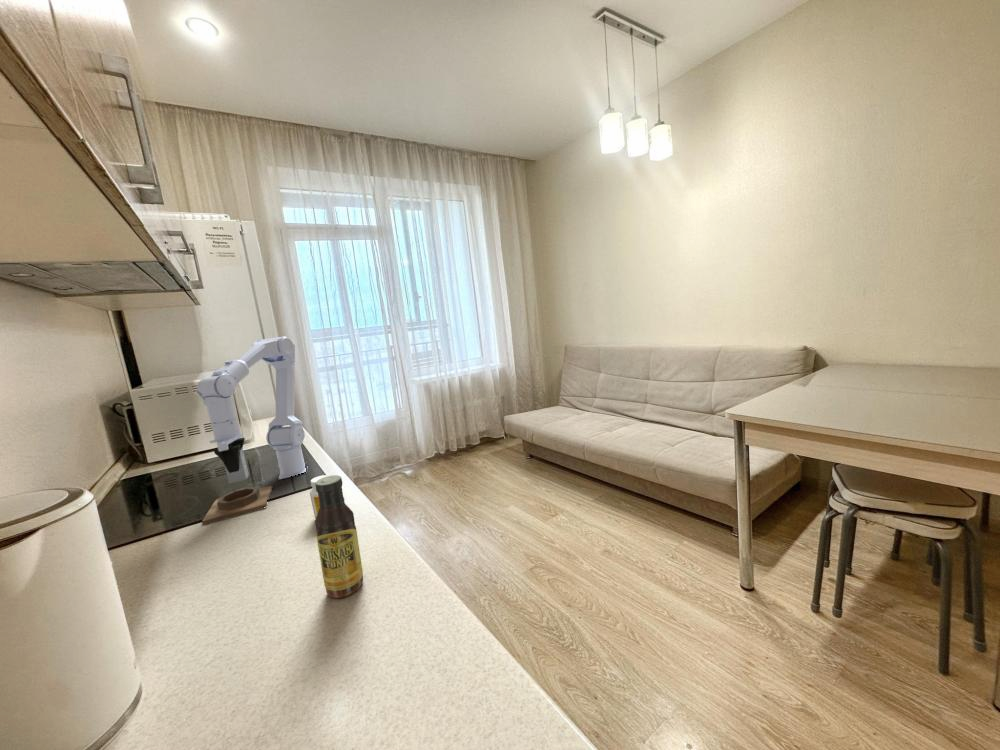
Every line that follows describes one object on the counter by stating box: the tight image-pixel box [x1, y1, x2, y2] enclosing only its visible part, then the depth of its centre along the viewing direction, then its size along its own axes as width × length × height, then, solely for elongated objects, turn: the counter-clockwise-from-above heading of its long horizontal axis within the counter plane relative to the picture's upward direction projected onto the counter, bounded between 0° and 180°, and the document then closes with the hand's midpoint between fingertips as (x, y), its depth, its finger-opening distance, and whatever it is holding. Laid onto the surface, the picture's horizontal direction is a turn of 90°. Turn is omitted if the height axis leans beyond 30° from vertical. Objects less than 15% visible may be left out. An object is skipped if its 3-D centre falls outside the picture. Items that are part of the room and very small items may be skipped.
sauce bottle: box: [314, 474, 364, 599], centre depth 66 cm, size 7×6×20 cm
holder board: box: [201, 484, 274, 526], centre depth 107 cm, size 14×14×3 cm
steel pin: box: [223, 447, 250, 484], centre depth 105 cm, size 4×4×8 cm
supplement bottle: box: [309, 474, 328, 520], centre depth 94 cm, size 5×5×10 cm
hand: (235, 468), depth 105 cm, fingers closed on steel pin, 4 cm apart
